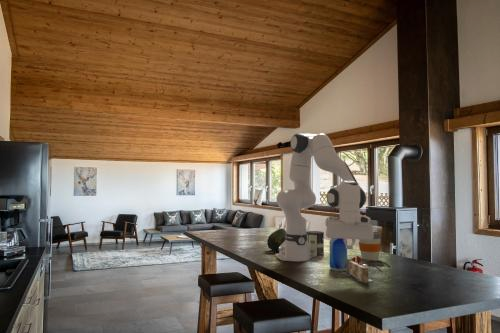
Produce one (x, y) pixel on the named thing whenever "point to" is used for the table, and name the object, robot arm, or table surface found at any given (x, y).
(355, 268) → the gate
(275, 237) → the squash
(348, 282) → the table surface
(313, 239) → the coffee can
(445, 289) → the table surface
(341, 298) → the table surface
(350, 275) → the gate frame
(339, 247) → the beer can
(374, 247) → the reusable coffee cup
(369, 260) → the glasses
